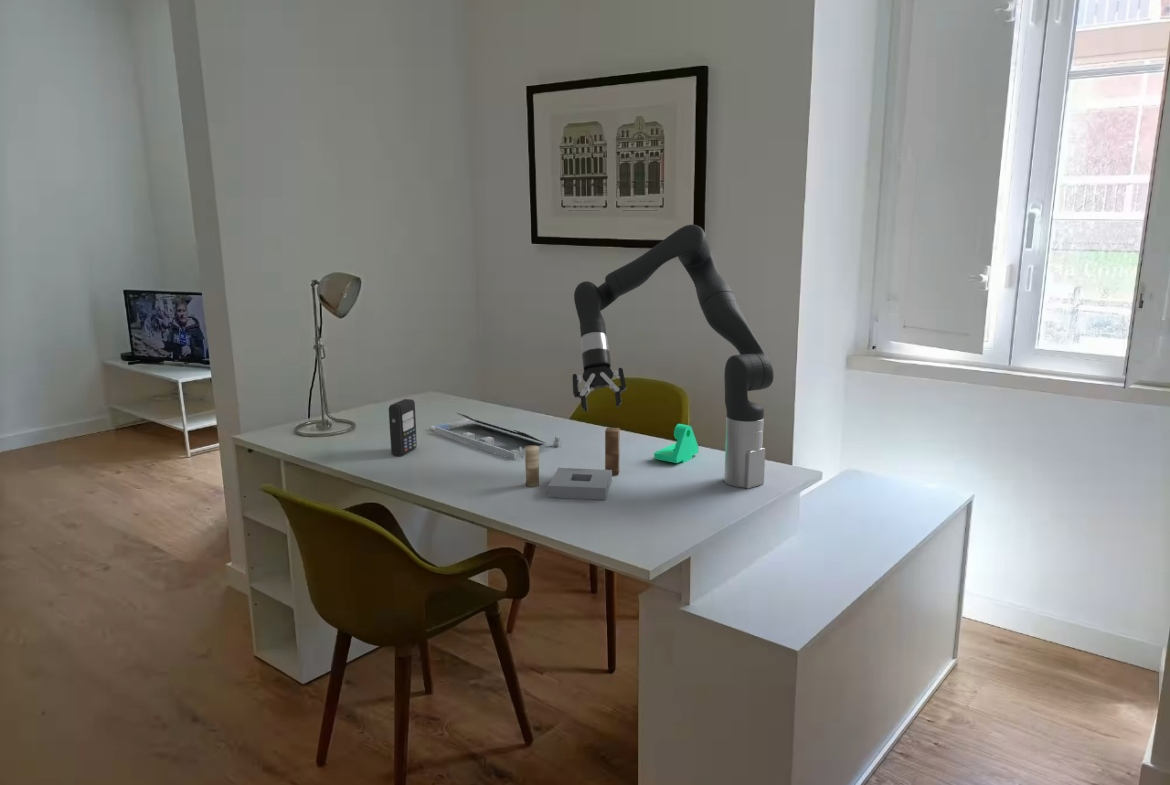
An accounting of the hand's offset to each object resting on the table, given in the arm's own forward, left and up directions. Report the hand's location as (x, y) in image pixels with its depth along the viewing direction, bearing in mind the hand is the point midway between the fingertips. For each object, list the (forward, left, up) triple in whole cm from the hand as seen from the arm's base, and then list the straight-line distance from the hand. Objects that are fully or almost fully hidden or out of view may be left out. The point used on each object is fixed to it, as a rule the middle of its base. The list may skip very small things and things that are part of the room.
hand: (601, 408), depth 221 cm
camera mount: (-6, -22, -17) cm, 28 cm away
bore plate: (-10, +15, -16) cm, 24 cm away
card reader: (+46, +37, -17) cm, 61 cm away
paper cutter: (+43, +9, -17) cm, 48 cm away
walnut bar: (-5, +1, -16) cm, 17 cm away
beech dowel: (0, +23, -16) cm, 28 cm away
